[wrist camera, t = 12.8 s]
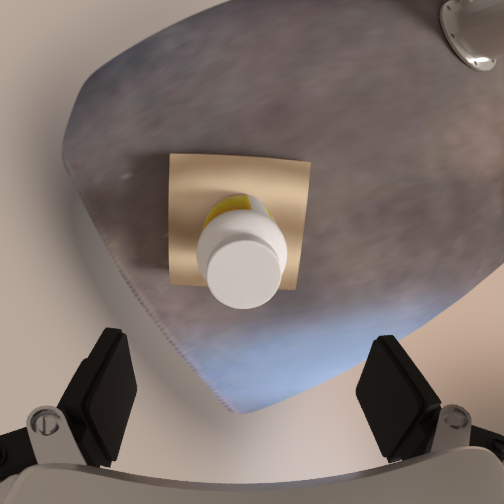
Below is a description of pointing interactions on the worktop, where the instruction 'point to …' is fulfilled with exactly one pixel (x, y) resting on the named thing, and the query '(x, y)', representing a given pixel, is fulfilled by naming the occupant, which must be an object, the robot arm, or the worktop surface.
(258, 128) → the worktop surface
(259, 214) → the supplement bottle
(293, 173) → the block
